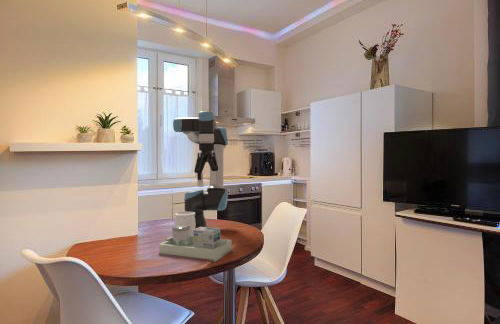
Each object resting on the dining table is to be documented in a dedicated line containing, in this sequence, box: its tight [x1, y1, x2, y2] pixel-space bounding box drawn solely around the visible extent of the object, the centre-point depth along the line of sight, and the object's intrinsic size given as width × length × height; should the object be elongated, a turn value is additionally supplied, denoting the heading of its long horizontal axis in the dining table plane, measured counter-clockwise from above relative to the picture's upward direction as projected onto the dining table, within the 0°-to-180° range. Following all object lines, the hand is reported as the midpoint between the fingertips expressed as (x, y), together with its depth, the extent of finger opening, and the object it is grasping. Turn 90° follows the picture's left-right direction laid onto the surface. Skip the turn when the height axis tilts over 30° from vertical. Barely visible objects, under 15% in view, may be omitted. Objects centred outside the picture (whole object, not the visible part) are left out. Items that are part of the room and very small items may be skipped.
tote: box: [158, 236, 233, 263], centre depth 142 cm, size 17×28×6 cm, turn 69°
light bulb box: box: [193, 227, 221, 249], centre depth 139 cm, size 11×7×11 cm, turn 68°
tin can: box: [171, 225, 190, 247], centre depth 145 cm, size 8×8×10 cm
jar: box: [174, 211, 196, 236], centre depth 161 cm, size 11×10×15 cm
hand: (207, 185), depth 156 cm, fingers open, 13 cm apart
